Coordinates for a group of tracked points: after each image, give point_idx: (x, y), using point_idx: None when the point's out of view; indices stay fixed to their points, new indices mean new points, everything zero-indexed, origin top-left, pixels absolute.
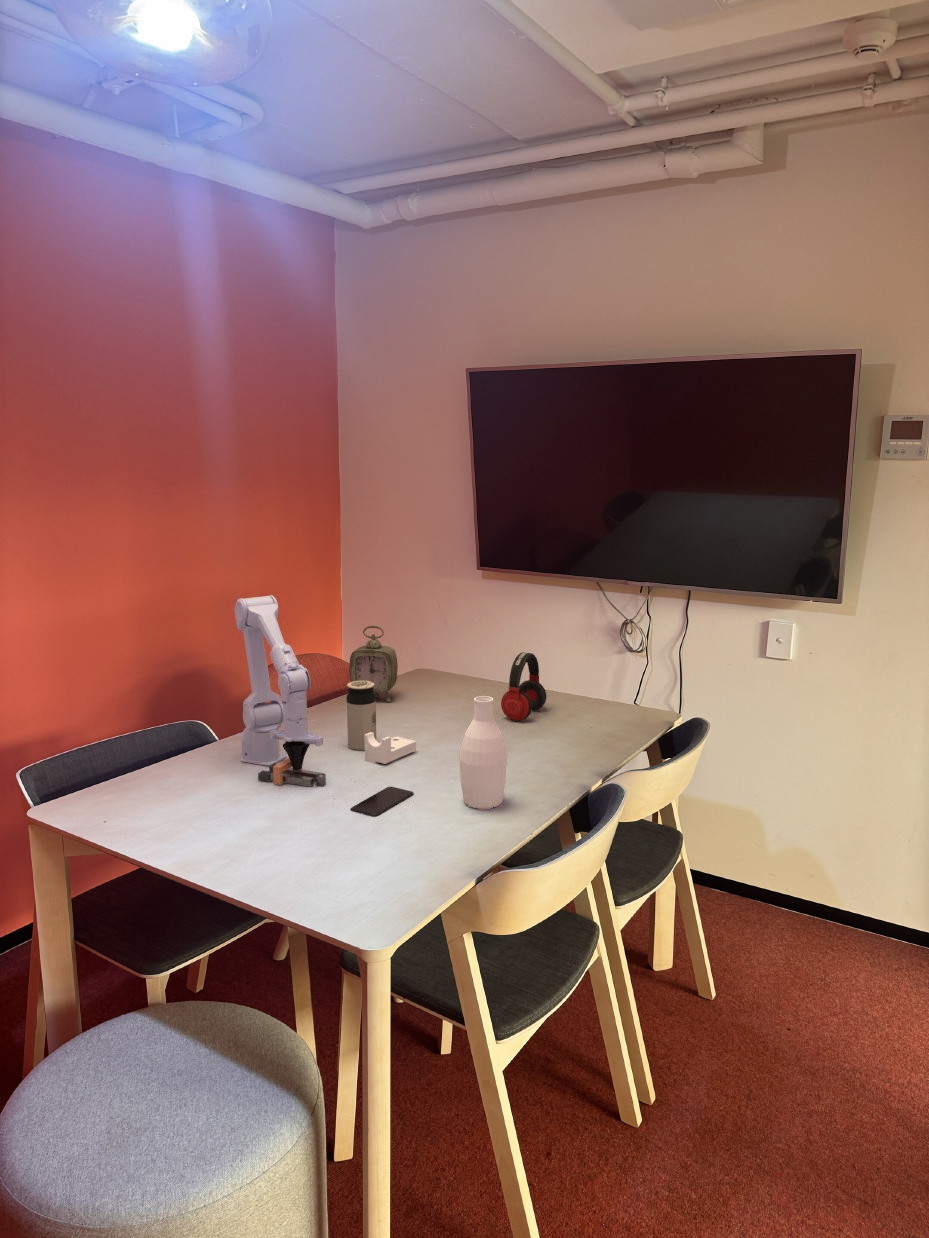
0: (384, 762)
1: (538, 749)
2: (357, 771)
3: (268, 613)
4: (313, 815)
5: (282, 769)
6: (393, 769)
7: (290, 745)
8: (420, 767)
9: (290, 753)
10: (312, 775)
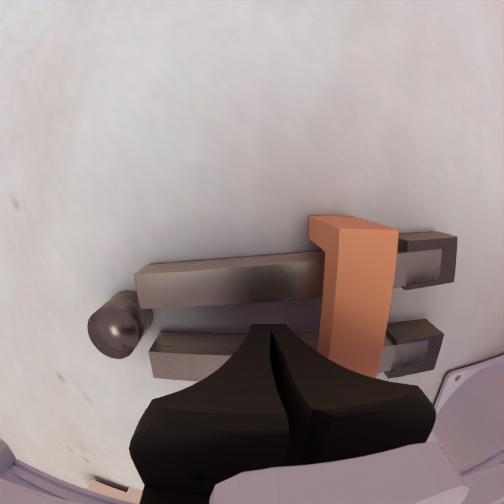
0: (91, 482)
1: None
2: (118, 446)
3: None
4: (24, 52)
5: (329, 258)
6: (62, 458)
7: (320, 445)
8: (38, 464)
9: (307, 376)
10: (183, 348)
